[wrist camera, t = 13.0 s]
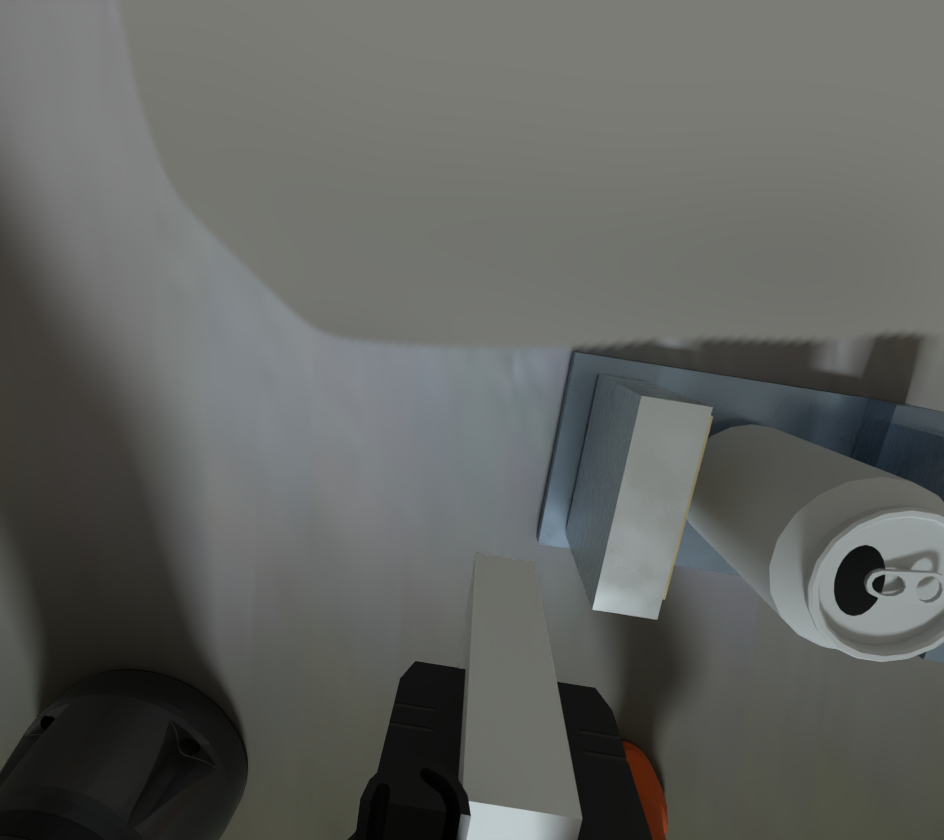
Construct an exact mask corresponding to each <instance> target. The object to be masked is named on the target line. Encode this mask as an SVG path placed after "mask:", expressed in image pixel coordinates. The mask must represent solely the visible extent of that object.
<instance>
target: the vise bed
mask: <svg viewBox="0 0 944 840" xmlns="http://www.w3.org/2000/svg"><path fill="white" fill-rule="evenodd" d="M599 374H602V375H608V376H615V377H621V378H627V379H634V380H640V381H646V382H651V383H654V384H656V385H659V386H661V387H664V388H666V389H669V390H671V391H674V392H676V393H679V394H681V395H684V396H686V397H689V398H691V399H694V400H696V401H699V402H701V403H704V404H706V405H709V406H711V407H713V409H712V412H711V415H712V416H713V419H712V423H711V427H710V431H709V435H708V438H710V437H711V436H713V435H715V434H717V433H719V432H721V431H724V430H726V429H728V428H730V427H736V426H743V425H750V424H753V425H760V426H766V427H772V428H775V429H777V430H780V431H783V432H785V433H788V434H790V435H793V436H795V437H798V438H801V439H803V440H806V441H808V442H811V443H813V444H816V445H819V446H821V447H824V448H826V449H829V450H832V451H834V452H837V453H839V454H842V455H844V456H847V457H850V458H852V459H855V460H857V461H860V462H862V463H865V464H868V465H870V466H873V467H875V468H878V469H881V470H883V471H886V472H888V473H891V474H893V475H896V476H899V477H901V478H904V479H906V480H909V481H912V482H914V483H915V484H917V485H919V486H921V487H923V488H925V489H927V490H929V491H931V492H932V493H934V494H936V495H938V496H939V497H940V498H941V500H942V501H943V502H944V412H942V411H937V410H932V409H927V408H923V407H918V406H913V405H908V404H903V403H896V402H890V401H884V400H877V399H871V398H865V397H859V396H852V395H846V394H840V393H833V392H827V391H821V390H814V389H808V388H802V387H796V386H789V385H783V384H777V383H770V382H764V381H758V380H752V379H745V378H739V377H733V376H726V375H720V374H714V373H707V372H701V371H695V370H689V369H682V368H676V367H670V366H663V365H657V364H651V363H645V362H638V361H632V360H626V359H619V358H613V357H607V356H600V355H594V354H588V353H582V352H575V351H573V354H572V359H571V364H570V369H569V374H568V379H567V384H566V389H565V394H564V399H563V405H562V410H561V415H560V420H559V425H558V430H557V435H556V440H555V445H554V450H553V455H552V460H551V466H550V471H549V476H548V481H547V486H546V491H545V496H544V501H543V506H542V511H541V516H540V521H539V527H538V532H537V541H538V544H543V545H549V546H556V547H562V548H568V549H571V548H570V546H569V543H568V540H567V537H566V529H567V524H568V519H569V514H570V510H571V505H572V500H573V495H574V491H575V486H576V481H577V476H578V472H579V467H580V462H581V457H582V452H583V448H584V443H585V438H586V433H587V429H588V424H589V419H590V414H591V410H592V405H593V400H594V395H595V390H596V386H597V381H598V376H599ZM708 438H707V439H708ZM674 565H676V566H682V567H688V568H695V569H701V570H707V571H714V572H720V573H726V574H733V575H739V576H740V574H739V573H738V572H737V571H736V570H735V569H734V568H733V567H732V566H731V565H730V564H729V563H728V562H727V561H726V560H725V559H724V558H723V557H722V556H721V555H720V554H719V553H718V552H717V551H716V550H715V549H714V548H713V547H712V546H711V545H710V544H709V543H708V542H707V541H706V540H705V539H704V538H703V537H702V536H701V535H700V534H699V533H698V532H697V531H696V530H695V529H694V528H693V527H692V525H691V524H690V523H689V522H688V521H687V518H686V522H685V526H684V530H683V533H682V537H681V541H680V545H679V549H678V552H677V556H676V560H675V564H674ZM918 656H919V657H921V658H922V659H923V660H930V661H936V662H942V663H944V642H943V643H942V644H940V645H939V646H937V647H936V648H935V649H932V650H929V651H927V652H924V653H922V654H919V655H918Z"/></svg>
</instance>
